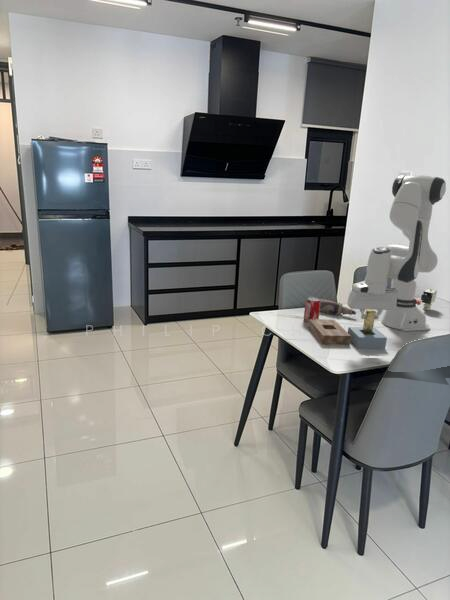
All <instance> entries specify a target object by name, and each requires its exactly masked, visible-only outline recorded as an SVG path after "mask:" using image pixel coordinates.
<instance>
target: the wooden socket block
mask: <svg viewBox="0 0 450 600" xmlns="http://www.w3.org/2000/svg"><path fill="white" fill-rule="evenodd" d="M307 325H308V327H307V328H308V329H309V331H311V333H312V334H313V335H314V337H315V338H316V339H317V341H318V342H320V344H321V345H331V346H332V345H335V346H337V345H339V346H340V345H341V346H345V345H346V346H348V345H349V346H350V343H351V341H350V338H351V336H350V335H349V334H348V331H347V330H345V328H344V327H343V326H342V325H340V323H338V322H337V321H336V320H335V319H326V318H325V319H323V318H322V319H321V318H320V319H309V323H308V324H307Z"/></svg>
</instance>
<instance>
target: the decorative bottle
mask: <svg viewBox="0 0 450 600" xmlns="http://www.w3.org/2000/svg"><path fill="white" fill-rule="evenodd" d="M309 297H314V298H318V299H320V312H322V313H327V314H332V315H334V316H342V315H350V316H352V315H357V312H356V311H355V310H354V309H351V308H350V307H346V306H344V305H343V303H341V302H337V301H332V300H328V299H324V298H319V297H315V296H309Z"/></svg>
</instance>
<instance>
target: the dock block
mask: <svg viewBox="0 0 450 600" xmlns="http://www.w3.org/2000/svg"><path fill="white" fill-rule="evenodd" d="M362 331H363V326H359V327H358V326H348V328H347V333H348V334H349V335H350V336H351V338H350V343H352V344H353V346H354V347H355V348H356V349H359V350H361V349H362V350H365V349H366V350H386V347H387V340H388V337H387V336H386V335H384V334H383V333H382V332H381V331H380V330H379V329H377V328H376V327H374V326H373V331H372V335H365V334H363V333H362Z"/></svg>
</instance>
